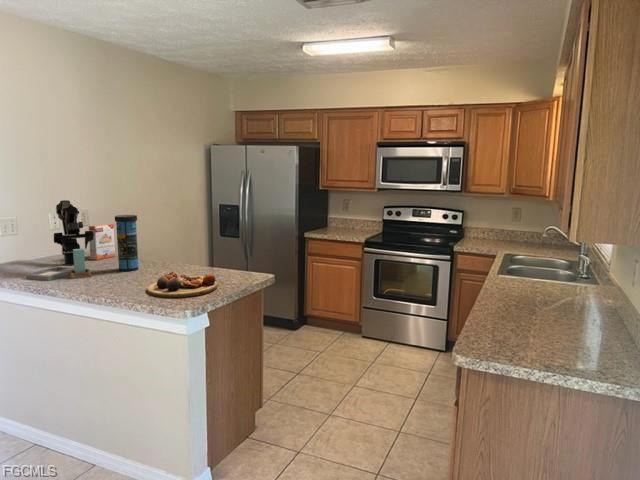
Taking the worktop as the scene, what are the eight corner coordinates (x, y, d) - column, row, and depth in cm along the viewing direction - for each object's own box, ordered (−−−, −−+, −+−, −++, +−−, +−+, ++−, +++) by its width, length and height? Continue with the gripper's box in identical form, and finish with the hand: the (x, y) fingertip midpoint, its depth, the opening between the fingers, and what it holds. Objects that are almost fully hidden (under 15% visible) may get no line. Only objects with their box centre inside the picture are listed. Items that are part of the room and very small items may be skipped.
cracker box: (97, 260, 272) (94, 226, 269) (90, 259, 274) (87, 225, 271) (115, 256, 285) (113, 223, 281) (108, 255, 287) (106, 223, 284)
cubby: (69, 275, 235) (68, 270, 235) (88, 273, 240) (88, 268, 240) (71, 279, 228) (71, 274, 228) (91, 276, 233) (91, 272, 233)
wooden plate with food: (228, 283, 225) (228, 267, 224) (197, 300, 195) (196, 282, 193) (171, 280, 233) (170, 264, 231) (132, 296, 202) (131, 278, 201)
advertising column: (119, 267, 254) (116, 214, 249) (140, 267, 257) (138, 214, 252) (115, 272, 243) (112, 217, 238) (138, 271, 246) (135, 216, 241)
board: (25, 278, 227) (25, 274, 227) (57, 270, 247) (57, 266, 246) (48, 280, 224) (48, 276, 224) (79, 271, 243) (78, 267, 243)
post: (74, 275, 235) (72, 249, 232) (84, 274, 237) (82, 248, 235) (76, 277, 231) (74, 250, 229) (85, 276, 234) (83, 249, 231)
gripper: (52, 217, 234) (56, 241, 227) (92, 215, 245) (97, 238, 238) (52, 230, 242) (55, 254, 235) (90, 228, 252) (95, 251, 245)
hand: (76, 249), depth 238 cm, fingers open, 9 cm apart
